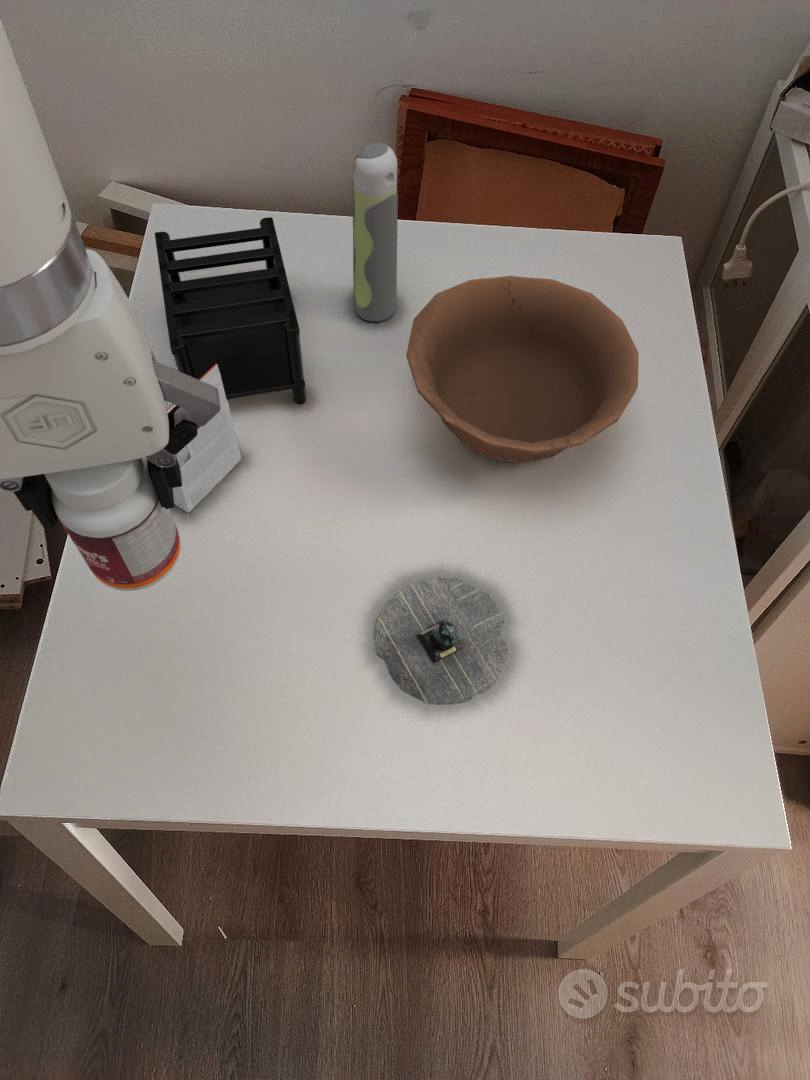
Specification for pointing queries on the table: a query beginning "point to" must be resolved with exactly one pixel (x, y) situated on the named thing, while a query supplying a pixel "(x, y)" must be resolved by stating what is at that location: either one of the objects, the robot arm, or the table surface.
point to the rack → (233, 314)
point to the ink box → (207, 452)
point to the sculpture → (441, 640)
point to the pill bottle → (117, 523)
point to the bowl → (522, 365)
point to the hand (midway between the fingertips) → (109, 496)
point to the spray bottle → (375, 232)
